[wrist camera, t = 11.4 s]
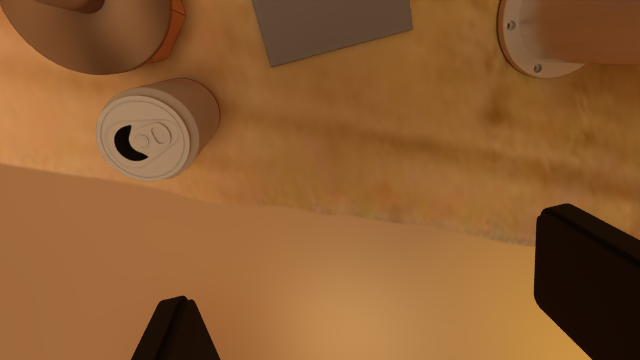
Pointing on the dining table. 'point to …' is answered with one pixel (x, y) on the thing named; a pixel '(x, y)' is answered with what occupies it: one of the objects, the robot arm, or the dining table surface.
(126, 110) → the beverage can
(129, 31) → the lid
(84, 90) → the dining table surface
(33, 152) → the dining table surface
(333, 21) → the mat
